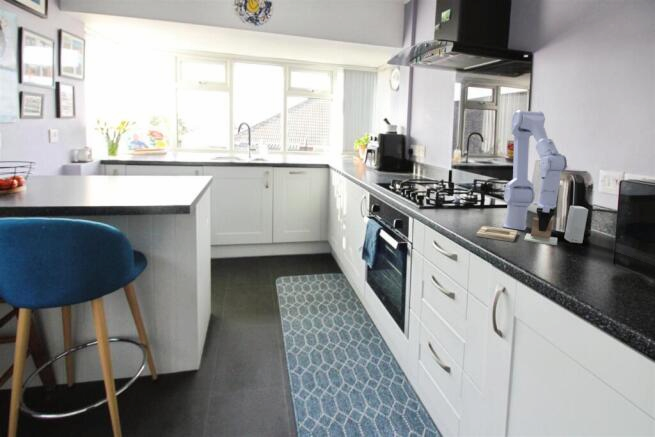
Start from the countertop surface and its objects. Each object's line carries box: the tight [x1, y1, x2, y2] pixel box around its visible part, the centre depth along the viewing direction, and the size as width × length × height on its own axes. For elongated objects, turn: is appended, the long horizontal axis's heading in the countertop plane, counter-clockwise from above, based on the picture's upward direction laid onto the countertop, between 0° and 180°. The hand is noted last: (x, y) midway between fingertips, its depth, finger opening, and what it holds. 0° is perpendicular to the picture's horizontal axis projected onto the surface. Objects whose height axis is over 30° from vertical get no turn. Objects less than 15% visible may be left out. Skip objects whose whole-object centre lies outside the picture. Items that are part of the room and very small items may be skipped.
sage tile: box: [523, 232, 558, 246], centre depth 154 cm, size 10×10×1 cm
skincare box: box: [564, 205, 589, 244], centre depth 154 cm, size 6×4×12 cm
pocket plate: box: [475, 225, 518, 243], centre depth 157 cm, size 14×12×1 cm
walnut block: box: [530, 216, 554, 239], centre depth 153 cm, size 4×6×6 cm, turn 64°
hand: (542, 229), depth 153 cm, fingers open, 4 cm apart
